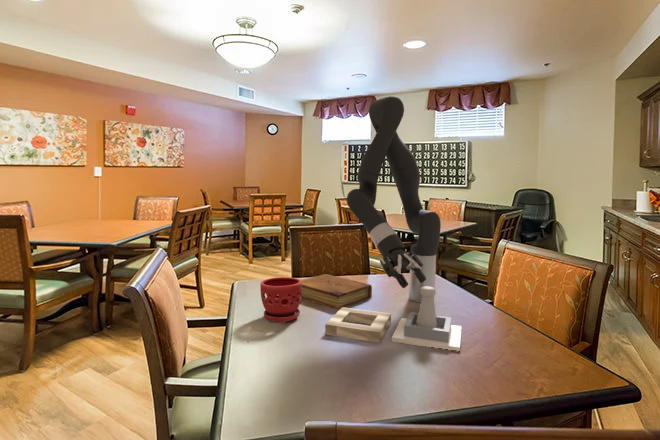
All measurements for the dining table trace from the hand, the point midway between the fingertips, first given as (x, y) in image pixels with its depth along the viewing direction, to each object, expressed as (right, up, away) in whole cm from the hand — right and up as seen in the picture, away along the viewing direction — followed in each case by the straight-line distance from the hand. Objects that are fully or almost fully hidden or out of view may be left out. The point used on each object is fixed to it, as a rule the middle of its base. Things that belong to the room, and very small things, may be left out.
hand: (415, 283), depth 120 cm
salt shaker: (+3, -13, -3) cm, 14 cm away
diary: (-24, -11, +33) cm, 43 cm away
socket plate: (+3, -14, -3) cm, 15 cm away
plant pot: (-41, -13, +11) cm, 44 cm away
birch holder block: (-16, -14, +2) cm, 21 cm away
